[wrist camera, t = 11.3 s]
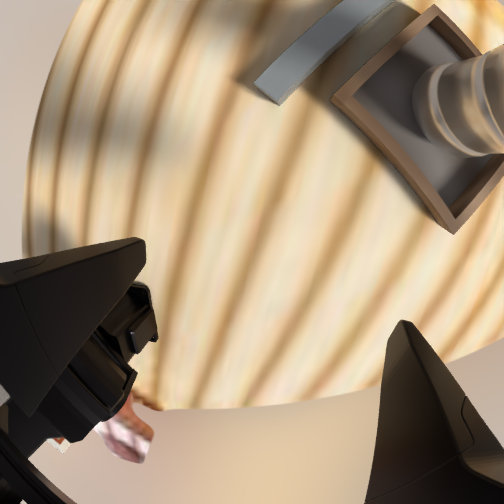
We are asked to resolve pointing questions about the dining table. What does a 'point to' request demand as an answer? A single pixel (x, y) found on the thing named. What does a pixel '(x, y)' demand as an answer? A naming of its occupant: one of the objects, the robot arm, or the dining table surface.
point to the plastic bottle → (463, 105)
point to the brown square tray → (406, 127)
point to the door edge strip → (316, 47)
